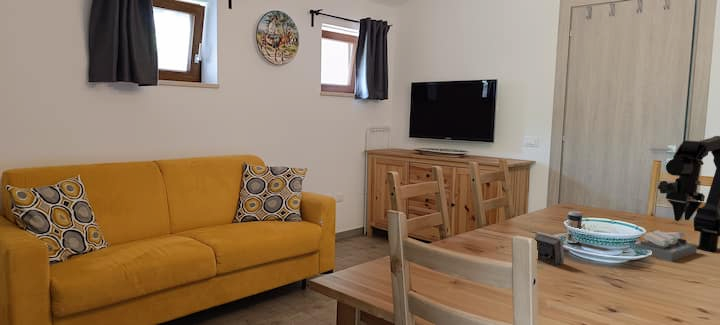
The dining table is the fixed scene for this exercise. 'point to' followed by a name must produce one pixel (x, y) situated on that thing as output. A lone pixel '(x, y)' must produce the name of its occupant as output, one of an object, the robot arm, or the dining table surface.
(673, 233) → the rocker
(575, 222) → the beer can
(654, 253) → the console
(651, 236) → the rocker
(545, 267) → the dining table surface
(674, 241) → the rocker
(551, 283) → the dining table surface
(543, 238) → the electrical switch
